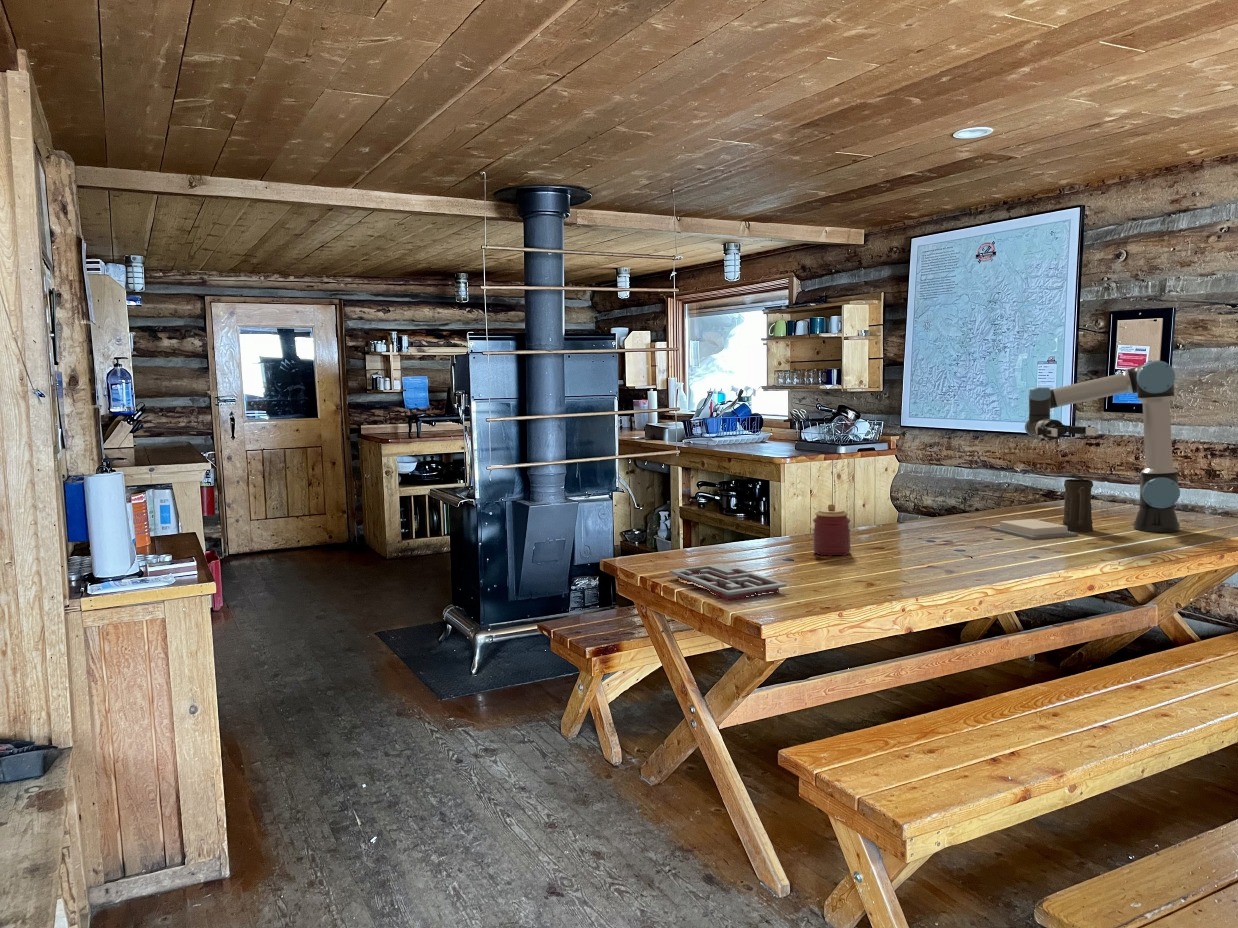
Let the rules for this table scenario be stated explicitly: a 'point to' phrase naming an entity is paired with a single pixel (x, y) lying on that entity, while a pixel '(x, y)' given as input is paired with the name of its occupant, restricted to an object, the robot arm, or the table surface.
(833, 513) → the canister
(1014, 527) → the stand
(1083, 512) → the beer stein
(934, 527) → the table surface
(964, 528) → the table surface
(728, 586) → the maze game
